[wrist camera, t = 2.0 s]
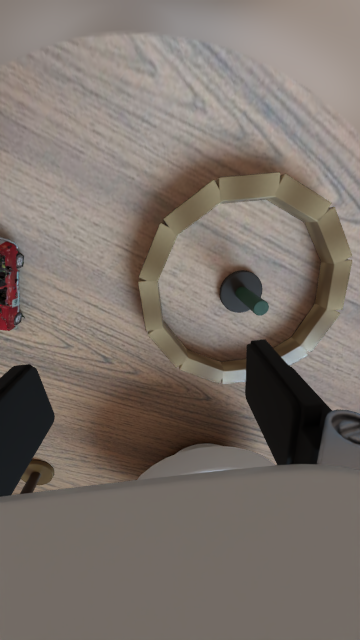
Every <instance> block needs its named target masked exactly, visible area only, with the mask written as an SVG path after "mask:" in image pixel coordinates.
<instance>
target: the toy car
mask: <svg viewBox="0 0 360 640" xmlns="http://www.w3.org/2000/svg"><path fill="white" fill-rule="evenodd" d="M16 249H18V246H17V245H16V243H15V242H11V240H9V239H5V238H2V237H0V254H1V257H2V256H4V255H5V256H6V257H3V259H0V306H3V307H0V308H1V309H2V314H1V313H0V330H7V331H10V330H12V329H13V328H14V327H15V326H14V325H18V324H19V323H20V322H21V318H22V317H24V316H23V315H22V313H18V312H19V310H20V300H19V299H20V298H19V291H18V292H17V290H18V289H19V288H18V287H19V271H18V270H17V268H21V267H23V263H24V261H23V260H24V256H22V254H17V253H18V251H16ZM3 260H4V261H3ZM9 266H10V267H9ZM9 268H11V270H8V269H9ZM11 272H12V273H11ZM10 273H11V274H10ZM3 278H4V279H3ZM14 283H16V284H14ZM3 292H4V293H3ZM15 292H16V293H17V297H16V296H15V295H16V293H15ZM3 294H5V295H6V298H5V297H1V296H2V295H3ZM1 316H2V317H3V318H4V319H6V320H3V319H2V318H1ZM24 318H25V317H24ZM6 324H7V325H6ZM15 328H17V327H15Z"/></svg>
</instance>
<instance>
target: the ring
mask: <svg viewBox="0 0 360 640" xmlns="http://www.w3.org/2000/svg"><path fill="white" fill-rule="evenodd" d="M256 200H268V201H269V202H271V203H273V204H274V205H276V206H278V207H279V208H281V209H283V210H284V211H286V212H288V213H290V214H291V215H293V216H295V217H296V218H298V219H300V220H301V221H303V222H305V225H306V227H307V229H308V232H309V234H310V236H311V239H312V241H313V244H314V246H315V248H316V251H317V253H318V255H319V258H320V260H321V266H320V273H319V280H318V286H317V293H316V299H315V304H314V306H313V307H312V309H311V310H310V311H309V313H308V314H307V316H306V317H305V319H304V320H303V321H302V323H301V324H300V326H299V327H298V329H297V330H296V331H295V333H294V334H293V336H292V337H291V338H289V339H288V340H286V341H284V342H283V343H281V344H279V345H278V346H276V347H274V348H273V349H274V350H275V351H276V352H277V353H278V354H279V355H280V356H281V357H282V359H283V360H284V361H285V362H286V363H287V364H288V365H289V366H290V365H292V364H294V363H295V362H297V361H299V360H301V359H302V358H304V357H306V356H308V353H307V351H306V350H308V351H310V352H312V351H313V349H314V348H315V347H316V345H317V344H318V343H319V341H320V340H321V339H322V337H323V336H324V335H325V333H326V332H327V331H328V329H329V328H330V327H331V326H332V324H333V323H334V322H335V320H336V319H337V318H338V316H339V315H340V313H339V312H337V311H335V310H342V309H343V305H344V300H345V295H346V290H347V285H348V280H349V275H350V270H351V265H352V260H349V259H348V258H349V257H351V256H352V254H351V251H350V248H349V245H348V242H347V240H346V237H345V234H344V231H343V229H342V226H341V223H340V220H339V218H338V215H337V212H336V209H335V207H330V205H331V202H329V201H328V200H326V199H324V198H323V197H321V196H320V195H318V194H317V193H315V192H313V191H312V190H310V189H309V188H307V187H306V186H304V185H303V184H301V183H299V182H298V181H296V180H295V179H293V178H292V177H290V176H288V175H287V174H283V175H281V176H280V172H275V173H263V174H252V175H240V176H228V177H219V178H218V179H217V180H216V181H214V180H212V181H211V182H210V183H208V184H207V185H206V186H205V187H203V188H202V189H201V190H199V191H198V192H197V193H196V194H194V195H193V196H192V197H190V198H189V199H188V200H187V201H185V202H184V203H183V204H181V205H180V206H179V207H178V208H176V209H175V210H174V211H172V212H171V213H170V214H169V215H167V216H166V217H165V218H164V219H163V220H164V222H165V223H166V225H167V226H166V225H164V224H162V223H160V224H159V227H158V229H157V232H156V234H155V237H154V240H153V242H152V245H151V247H150V250H149V252H148V255H147V257H146V260H145V262H144V265H143V267H142V270H141V272H140V275H139V278H140V279H139V281H138V285H139V291H140V297H141V303H142V310H143V316H144V322H145V328H146V331H148V336H149V337H150V338H151V339H152V340H153V341H154V343H155V344H156V345H157V346H158V347H159V348H160V350H161V351H162V352H163V353H164V354H165V355H166V357H167V358H168V359H169V360H170V361H171V362H172V363H173V365H174V366H175V367H176V368H177V367H178V366H179V370H181V371H184V372H187V373H190V374H193V375H196V376H198V377H201V378H204V379H207V380H210V381H213V382H215V383H218V384H219V383H220V381H221V382H222V384H228V383H237V382H245V381H246V359H241V360H233V361H224V362H219V361H216V360H214V359H211V358H208V357H206V356H203V355H200V354H198V353H195V352H192V351H190V350H187V349H186V348H185V347H184V345H183V344H182V343H181V342H180V340H179V339H178V338H177V337H176V336H175V334H174V333H173V332H172V331H171V329H170V328H169V327H168V326H167V324H166V323H165V322H164V321H163V316H162V308H161V300H160V292H159V284H158V280H159V277H160V275H161V273H162V270H163V268H164V266H165V263H166V261H167V259H168V257H169V254H170V252H171V250H172V247H173V245H174V243H175V240H176V238H177V236H178V235H179V234H180V233H181V232H183V231H184V230H185V229H186V228H188V227H189V226H190V225H192V224H193V223H194V222H196V221H197V220H198V219H200V218H201V217H202V216H204V215H205V214H206V213H208V212H209V211H210V210H212V209H213V208H214V207H216V206H217V205H218V204H223V203H234V202H245V201H256ZM329 207H330V208H329Z"/></svg>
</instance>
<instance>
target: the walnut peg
mask: <svg viewBox="0 0 360 640" xmlns="http://www.w3.org/2000/svg"><path fill="white" fill-rule="evenodd" d="M53 475H54V469H53V468H52V466H51V465H49V464H48V463H46V462H43V461H37V460H34V461H31V462H30V463H29V465H28V467H27V469H26V470H25V472H24V474H23V475H22V477H21V479H22V480H23V481H24V482H26V484H25V486H24V487H23V489H22V491H21V493H20V494H25V493H33V491H34V489H35V487H36V485H43V484H46V483H48V482H50V481H51V479H52V478H53Z"/></svg>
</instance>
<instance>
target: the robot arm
mask: <svg viewBox="0 0 360 640" xmlns="http://www.w3.org/2000/svg"><path fill="white" fill-rule="evenodd" d="M245 395H246V399H247V402H248V404H249V406H250V408H251V410H252V412H253V414H254V417H255V419H256V421H257V423H258V425H259V427H260V429H261V431H262V433H263V435H264V438H265V440H266V442H267V444H268V446H269V448H270V450H271V452H272V454H273V456H274V459H275V461H276V463H277V465H274V466H263V467H253V468H242V469H231V470H222V471H213V472H204V473H195V474H186V475H177V476H169V477H160V478H151V479H142V480H134V481H125V482H117V483H108V484H100V485H91V486H83V487H75V488H66V489H58V490H50V491H41V492H33V493H25V494H17V495H11V494H12V493H13V491H14V489H15V487H16V486H17V484H18V482H19V481H20V479H21V477H22V475H23V474H24V472H25V470H26V469H27V467H28V465H29V463H30V462H31V460H32V458H33V457H34V455H35V453H36V451H37V450H38V448H39V446H40V445H41V443H42V441H43V439H44V438H45V436H46V434H47V433H48V431H49V429H50V427H51V426H52V424H53V422H54V417H55V416H54V412H53V409H52V407H51V404H50V402H49V399H48V397H47V394H46V392H45V389H44V387H43V384H42V381H41V379H40V376H39V374H38V371H37V369H36V368H35V367H33V366H31V365H29V364H28V365H18V366H14V367H12V368H11V369H10V370H9V371H8V372H7V373H5V374H4V375H3V376H2V377H1V378H0V640H360V414H359V413H356V412H353V411H349V410H334V411H332V410H331V409H330V408H329V407H328V406H327V405H326V404H325V403H324V401H323V400H322V399H321V398H320V397H319V396H318V395H317V394H316V393H315V392H314V391H313V389H312V388H311V387H310V386H309V385H308V384H307V383H306V382H305V381H304V380H303V379H302V378H301V376H300V375H299V374H298V373H297V372H296V371H295V370H294V369H293V368H292V367H290V366H289V365H288V364H287V363H286V362H285V361H284V360H283V359H282V357H281V356H280V355H279V354H278V353H277V352H276V351H275V350H274V349H273V348H272V346H271V345H270V344H269V343H268V342H267V341H266V340H255V341H251V344H248V345H247V355H246V387H245Z"/></svg>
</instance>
